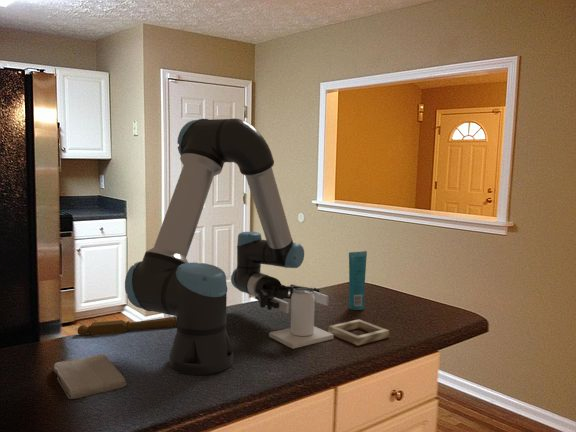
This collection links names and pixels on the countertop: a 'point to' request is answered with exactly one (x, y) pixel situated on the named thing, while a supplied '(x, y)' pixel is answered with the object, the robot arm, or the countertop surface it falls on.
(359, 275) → the tube
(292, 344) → the trivet
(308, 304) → the can
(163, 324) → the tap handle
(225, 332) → the robot arm
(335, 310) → the countertop surface
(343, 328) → the holder
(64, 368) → the washcloth
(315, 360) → the countertop surface
